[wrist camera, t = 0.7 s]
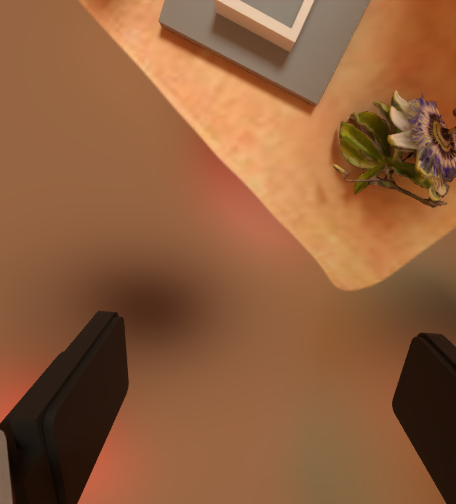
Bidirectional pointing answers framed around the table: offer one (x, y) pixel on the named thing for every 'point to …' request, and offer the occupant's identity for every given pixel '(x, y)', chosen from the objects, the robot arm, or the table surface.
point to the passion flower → (401, 147)
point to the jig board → (271, 37)
